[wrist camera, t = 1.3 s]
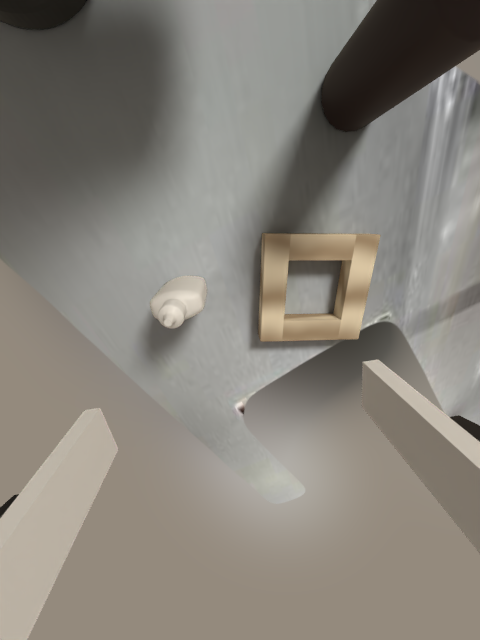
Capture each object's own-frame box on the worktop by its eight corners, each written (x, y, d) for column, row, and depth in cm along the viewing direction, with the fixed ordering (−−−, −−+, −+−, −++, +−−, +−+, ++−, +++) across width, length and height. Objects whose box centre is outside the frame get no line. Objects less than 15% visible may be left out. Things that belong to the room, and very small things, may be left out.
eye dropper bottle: (201, 309, 34) (192, 352, 22) (161, 296, 32) (130, 335, 21) (210, 279, 32) (205, 310, 21) (169, 265, 31) (140, 290, 20)
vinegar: (381, 42, 24) (889, -525, 6) (383, 123, 27) (739, -94, 8) (315, 62, 25) (606, -424, 6) (324, 140, 27) (545, -34, 9)
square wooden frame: (262, 233, 30) (265, 234, 28) (368, 233, 31) (380, 234, 29) (258, 333, 36) (260, 341, 33) (349, 331, 37) (358, 338, 34)
